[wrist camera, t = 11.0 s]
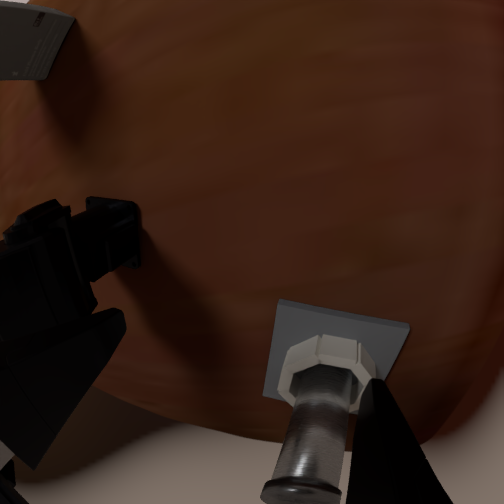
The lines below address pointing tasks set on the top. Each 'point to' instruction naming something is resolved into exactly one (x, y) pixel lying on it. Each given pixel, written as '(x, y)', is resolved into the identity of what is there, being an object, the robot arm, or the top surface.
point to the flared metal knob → (313, 440)
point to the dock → (329, 348)
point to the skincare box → (30, 39)
